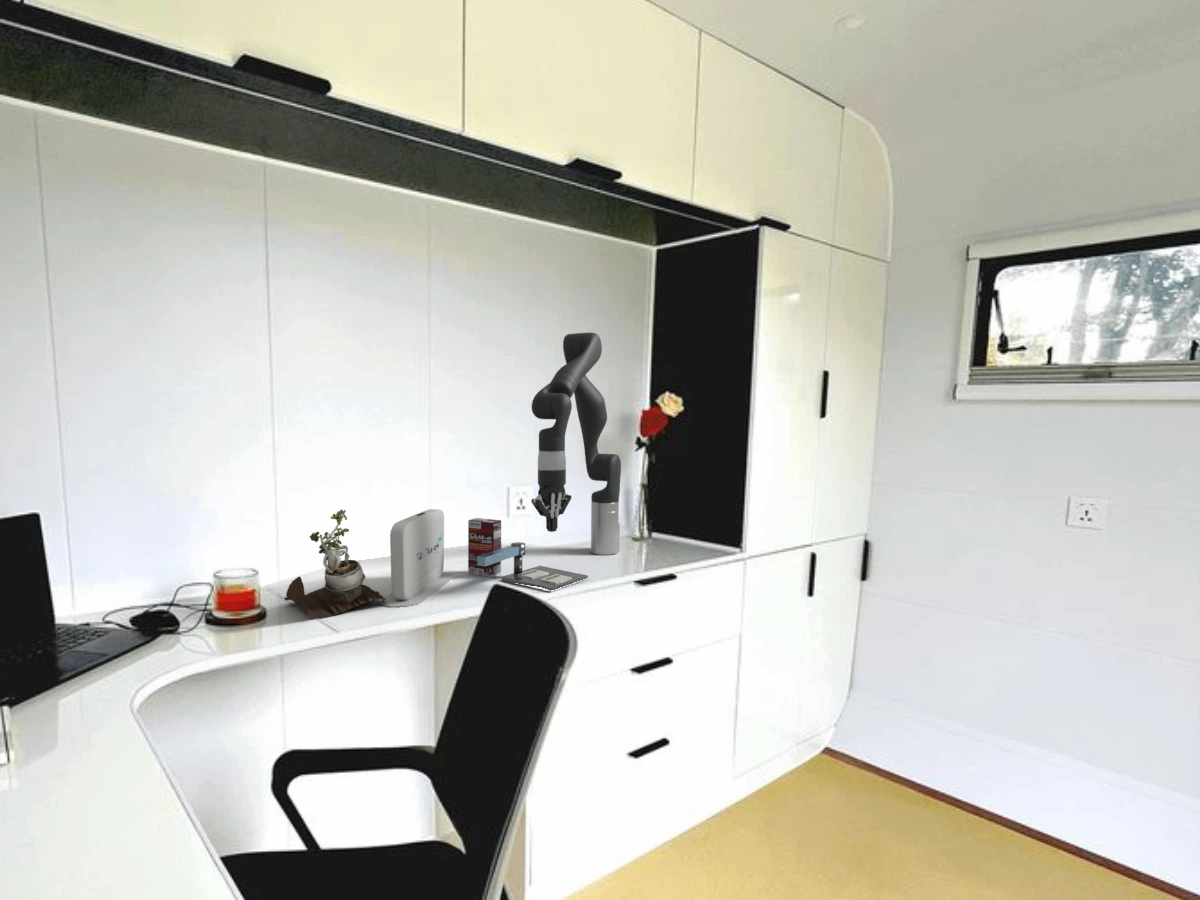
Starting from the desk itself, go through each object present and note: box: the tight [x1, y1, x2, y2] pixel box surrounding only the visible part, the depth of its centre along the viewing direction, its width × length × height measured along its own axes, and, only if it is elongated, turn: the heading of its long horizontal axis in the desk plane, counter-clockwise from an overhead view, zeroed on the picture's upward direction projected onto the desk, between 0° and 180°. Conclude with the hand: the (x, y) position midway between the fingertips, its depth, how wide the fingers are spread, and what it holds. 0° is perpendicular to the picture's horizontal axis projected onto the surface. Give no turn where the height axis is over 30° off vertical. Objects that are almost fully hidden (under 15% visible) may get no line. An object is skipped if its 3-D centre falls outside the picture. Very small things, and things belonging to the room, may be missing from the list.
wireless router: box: [381, 508, 454, 609], centre depth 166 cm, size 31×10×20 cm, turn 174°
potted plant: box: [283, 508, 388, 620], centre depth 151 cm, size 20×19×25 cm
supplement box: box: [467, 517, 502, 578], centre depth 183 cm, size 9×5×16 cm, turn 68°
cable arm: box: [477, 541, 526, 566], centre depth 174 cm, size 19×4×3 cm, turn 153°
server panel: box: [501, 555, 589, 591], centre depth 177 cm, size 16×19×6 cm
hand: (551, 531), depth 171 cm, fingers closed
